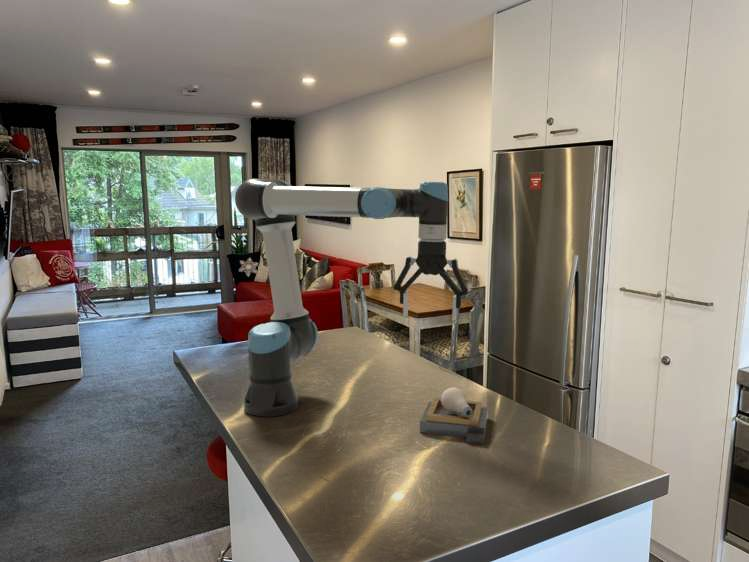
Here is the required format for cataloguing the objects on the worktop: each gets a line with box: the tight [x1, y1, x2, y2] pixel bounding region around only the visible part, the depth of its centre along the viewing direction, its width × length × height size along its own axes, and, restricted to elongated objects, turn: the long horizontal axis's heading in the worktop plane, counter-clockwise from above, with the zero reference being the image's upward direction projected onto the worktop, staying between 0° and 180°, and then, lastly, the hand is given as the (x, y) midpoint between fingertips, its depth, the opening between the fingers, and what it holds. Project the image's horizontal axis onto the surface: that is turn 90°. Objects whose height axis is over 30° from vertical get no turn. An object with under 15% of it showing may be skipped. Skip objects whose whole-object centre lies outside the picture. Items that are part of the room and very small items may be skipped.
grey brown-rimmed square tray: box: [419, 397, 489, 445], centre depth 145 cm, size 16×21×4 cm
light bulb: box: [441, 386, 472, 417], centre depth 143 cm, size 7×7×11 cm
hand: (429, 317), depth 152 cm, fingers open, 13 cm apart
